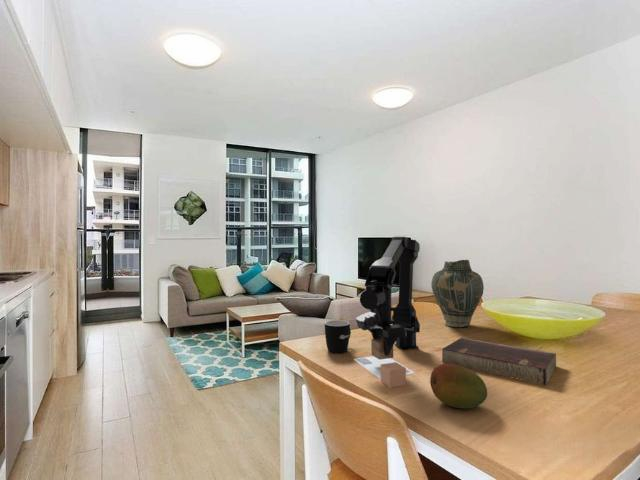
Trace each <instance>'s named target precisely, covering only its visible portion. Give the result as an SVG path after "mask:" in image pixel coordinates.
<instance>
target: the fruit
mask: <svg viewBox="0 0 640 480" xmlns="http://www.w3.org/2000/svg"><path fill="white" fill-rule="evenodd" d="M429 384H430V387H431V391H432V393H433V394H434V397H435V398H436V399H438V400H439V401H440V402H441V403H443V404H445V405H447V406H450V407H453V408H456V409H472V408H476V407H478V406H480V405H482V404H483V403H485V401H486V400H487V398H488V388H487V385H486V384H485V381H484V380H483V379H482V378H481V377H480V375H478V374H477V373H475V371H474V370H472V369H468V368H465V367H463V366H460V365H457V364H450V363H441V364H438V365H437V366H436V367H434V368H433V370H432V372H431V374H430V379H429Z"/></svg>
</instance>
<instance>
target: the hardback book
mask: <svg viewBox="0 0 640 480" xmlns="http://www.w3.org/2000/svg"><path fill="white" fill-rule="evenodd" d="M441 351H442V352H441V354H442V355H441V357H442V358H441V359H442V360H441V362H442V363H443V364H445V363H450V364H457V365H460V366H463V367H465V368H469V369H470V370H473V369H474V370H473V371H477V370H478V372H482V371H483V373H486V374H491V373H492V375H496V374H498V375H497V376H500V375H502V376H501V377H505V376H507V377H506V378H509V377H513V378H512V379H514V378H518V379H522V380H521V381H523V380H526V381H525V382H528V381H530V382H529V383H532V382H535V383H534V384H537V383H539V384H538V385H541V384H543V385H542V386H547V385H546V384H548V383H549V381H550V378H551V377H552V375H553V373H554V371H555V369H556V367H557V353H555V352H550V351H545V350H544V351H543V350H538V349H532V348H526V347H519V346H514V345H513V346H512V345H510V344H509V345H508V344H503V343H498V342H491V341H485V340H479V339H474V338H467V337H460V338H458V339H457V340H454V341H453V342H452V343H450V344H448V345H447V346H444V347H443V348H442V350H441ZM518 379H517V380H518ZM547 382H548V383H547Z"/></svg>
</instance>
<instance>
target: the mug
mask: <svg viewBox="0 0 640 480" xmlns="http://www.w3.org/2000/svg"><path fill="white" fill-rule="evenodd" d="M351 334H352V330H351V325H350V322H349V321H347V320H343V319H342V320H341V319H335V320H334V319H333V320H332V319H331V320H328V321H325V323H324V335H325V343H326V348H327V351H328V352H329V353H332V354H344V353H346V352H347V350H348V348H349V343H350V338H351Z"/></svg>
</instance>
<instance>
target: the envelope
mask: <svg viewBox="0 0 640 480" xmlns="http://www.w3.org/2000/svg"><path fill="white" fill-rule="evenodd" d="M353 360H354V361H355V362H356V363H357V364H359V365H360V366H361V367H363V368H365V370H367V371H368V372H369V373H371V374H373V376H375V377H377V378H378V379H379V380H381V364H387V363H394V362H396V363H398V364H400V365H401V366H403V367H405V368H406V376H407V375H412V374H415V371H413V370H411V369H410V368H408V367H406V366H405V365H403V364H402V363H400V362H398V361H396V360H394V359H393V358H387V359H380V360H379V359H377V358H376V357H374V356H373V355H371V356H366V357H365V356H364V357H358V358H353Z"/></svg>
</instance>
